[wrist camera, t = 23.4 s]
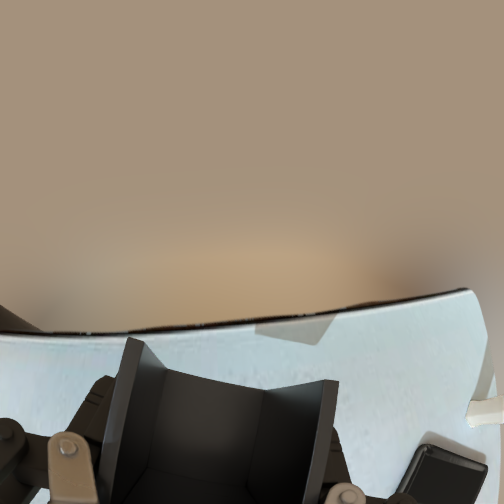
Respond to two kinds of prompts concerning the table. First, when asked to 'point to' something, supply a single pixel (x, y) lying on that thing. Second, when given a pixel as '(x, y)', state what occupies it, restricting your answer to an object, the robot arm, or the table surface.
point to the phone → (442, 477)
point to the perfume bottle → (486, 412)
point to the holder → (211, 438)
